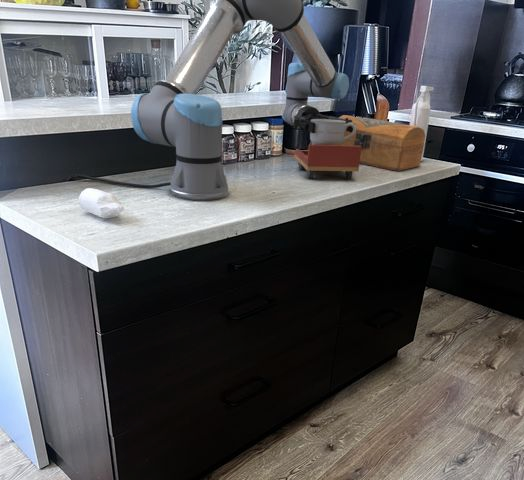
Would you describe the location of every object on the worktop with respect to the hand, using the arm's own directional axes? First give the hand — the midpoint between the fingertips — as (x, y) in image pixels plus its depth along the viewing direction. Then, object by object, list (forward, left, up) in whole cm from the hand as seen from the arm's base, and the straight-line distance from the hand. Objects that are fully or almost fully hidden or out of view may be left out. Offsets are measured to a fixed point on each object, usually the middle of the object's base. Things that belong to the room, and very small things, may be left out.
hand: (333, 128), depth 157 cm
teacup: (0, +2, -6) cm, 6 cm away
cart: (-1, +3, -14) cm, 15 cm away
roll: (-64, -44, -14) cm, 79 cm away
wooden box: (+23, +24, -14) cm, 36 cm away
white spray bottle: (+39, +28, -14) cm, 50 cm away
